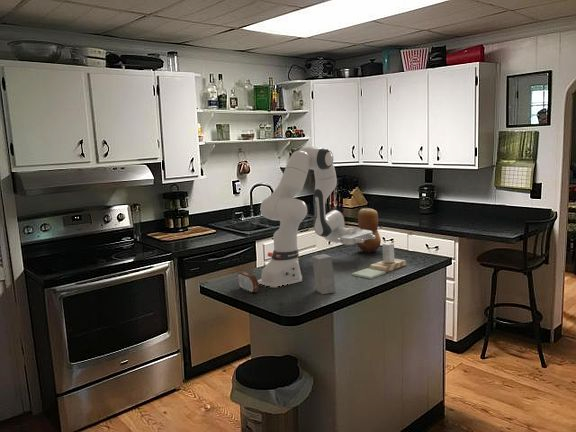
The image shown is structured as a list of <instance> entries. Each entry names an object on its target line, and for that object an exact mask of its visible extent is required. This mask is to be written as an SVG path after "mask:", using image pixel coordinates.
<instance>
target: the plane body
mask: <svg viewBox="0 0 576 432" xmlns="http://www.w3.org/2000/svg"><path fill="white" fill-rule="evenodd" d="M406 264H407V261H406V260H405V259H399V258H394V263H392V264H385V263H383V260H380V261H377V262H375V263H371V264H370V265H369V266H370V267H369V269H374V270H379V271H384V272H385V274H386V273H389V272H390V271H394V270H397V269H399V268H402V267H405V266H407V265H406Z"/></svg>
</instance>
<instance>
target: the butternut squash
mask: <svg viewBox="0 0 576 432" xmlns="http://www.w3.org/2000/svg"><path fill="white" fill-rule="evenodd" d="M357 215H358V216H357V219H358V221H357V222H358V224H357V226H358V227H357V228H360V229H365V230H370V231H372V232H373V235H375V236H376V238H375V239H368V240H364V242H363V243H356V245H357V247H358V248H359V249H360V250H361V251H363V252H365V253H368V254H371V253H373V252H376V251H377V250H378V249H379V248H380V246H381V244H382V243H381V241H382V240H381V236H380V233H379V231H378V229H379V214H378V211H377V210H375V209H373V208H369V207H367V208H360V210H359V211H358V213H357Z"/></svg>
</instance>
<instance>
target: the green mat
mask: <svg viewBox="0 0 576 432" xmlns="http://www.w3.org/2000/svg"><path fill="white" fill-rule="evenodd" d="M351 273H352V274H351V275H352V276H355V277H360V278H364V279H369V280H373V279H375V278H377V277H378V278H379V277H380V276H382V275H385V274H386V273H385V272H384V271H379V270H374V269H370V268H367V267H366V268H365V269H360V270H358V271H355V272H351Z"/></svg>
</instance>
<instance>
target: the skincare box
mask: <svg viewBox="0 0 576 432" xmlns="http://www.w3.org/2000/svg"><path fill="white" fill-rule="evenodd" d="M311 258H312V268H313V277H314V286H315V291H317V292H318V293H319V294H320V295H326V294H332V293H336V286H335V285H336V284H335V275H334V274H335V273H334V267H333V258H332V256H331V255H328V254H326V253H323V254H315V255H312V256H311Z"/></svg>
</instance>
